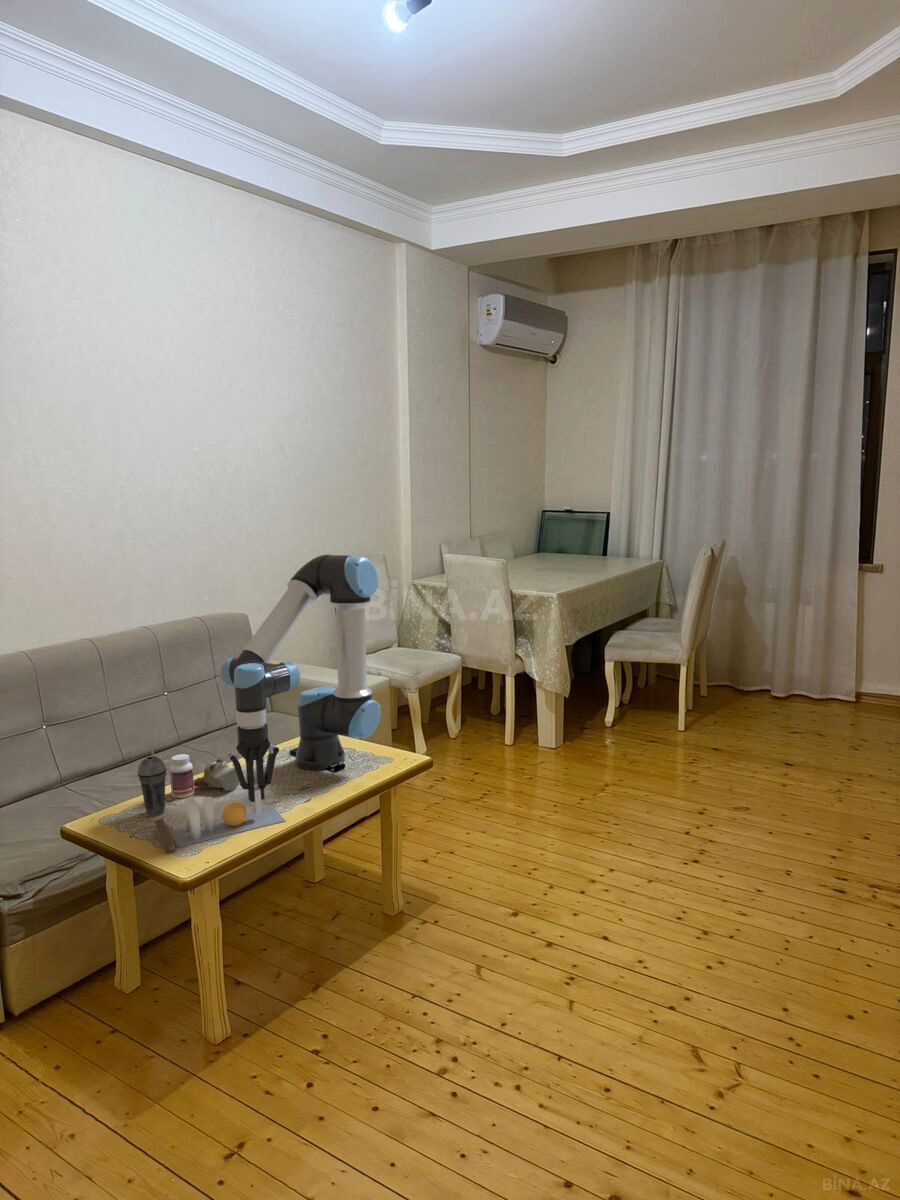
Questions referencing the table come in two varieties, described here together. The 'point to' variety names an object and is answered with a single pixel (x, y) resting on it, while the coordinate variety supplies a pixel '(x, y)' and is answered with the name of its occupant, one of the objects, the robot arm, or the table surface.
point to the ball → (234, 814)
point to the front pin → (209, 814)
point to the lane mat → (229, 827)
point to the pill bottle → (181, 776)
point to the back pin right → (188, 802)
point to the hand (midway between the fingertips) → (257, 812)
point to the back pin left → (195, 821)
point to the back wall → (164, 836)
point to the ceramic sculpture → (218, 776)
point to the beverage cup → (153, 784)
